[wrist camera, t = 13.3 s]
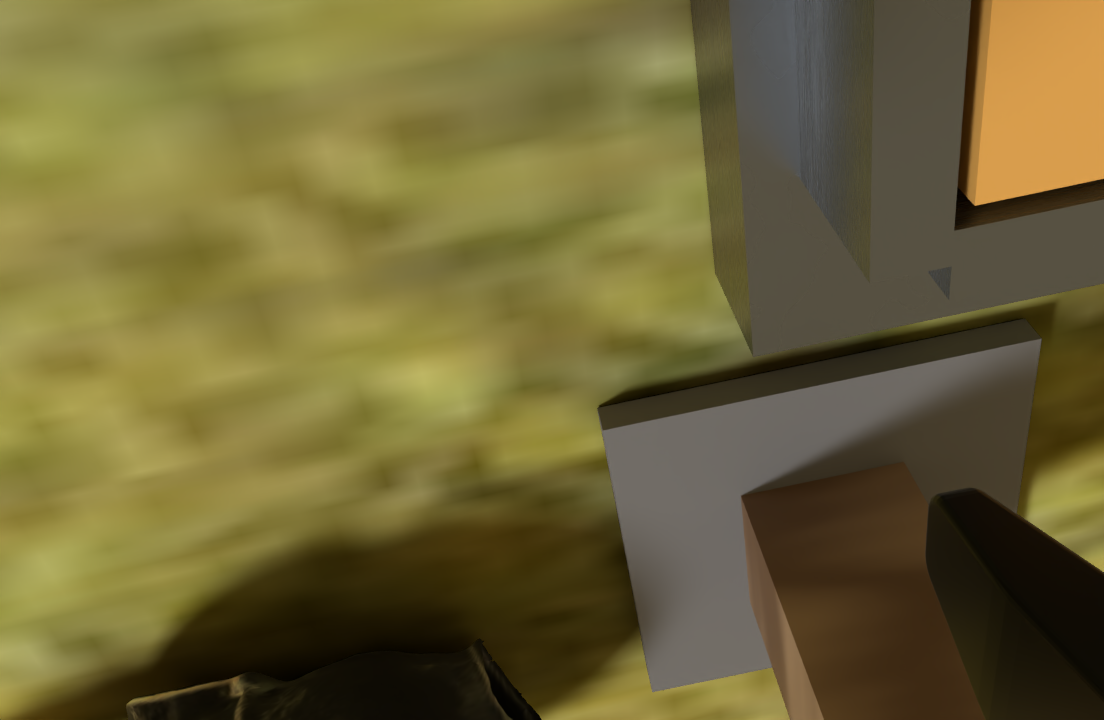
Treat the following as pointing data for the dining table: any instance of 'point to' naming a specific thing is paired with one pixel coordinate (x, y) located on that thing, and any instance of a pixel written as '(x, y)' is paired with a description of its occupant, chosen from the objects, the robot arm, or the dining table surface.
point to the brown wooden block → (852, 600)
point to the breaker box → (862, 174)
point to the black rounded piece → (354, 692)
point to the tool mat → (797, 470)
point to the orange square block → (1032, 98)
